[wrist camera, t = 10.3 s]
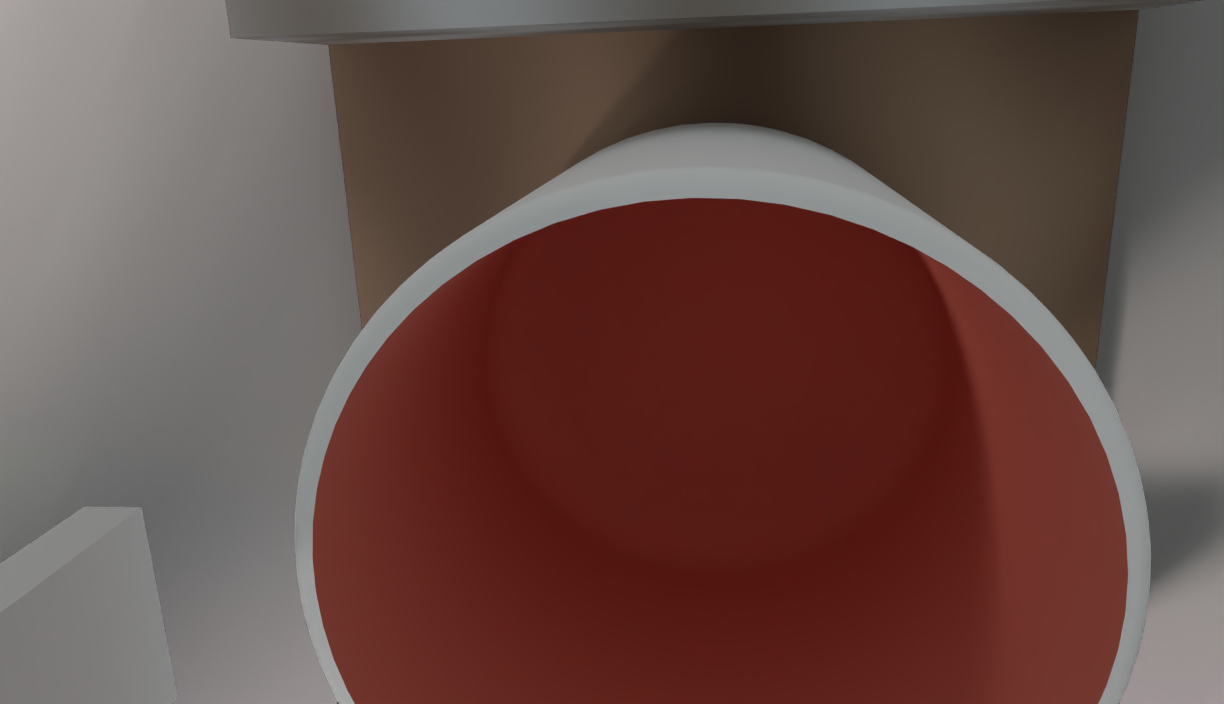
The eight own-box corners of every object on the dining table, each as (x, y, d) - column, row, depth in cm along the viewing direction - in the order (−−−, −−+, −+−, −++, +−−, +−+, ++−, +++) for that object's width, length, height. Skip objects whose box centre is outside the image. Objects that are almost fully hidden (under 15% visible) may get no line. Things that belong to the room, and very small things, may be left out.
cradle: (413, 637, 25) (339, 773, 20) (339, -28, 20) (216, -59, 15) (1042, 661, 23) (1126, 819, 18) (1127, -70, 18) (1272, -120, 13)
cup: (414, 413, 22) (168, 685, 12) (633, 23, 18) (537, -28, 9) (774, 627, 22) (813, 1049, 13) (1046, 282, 19) (1370, 495, 9)
